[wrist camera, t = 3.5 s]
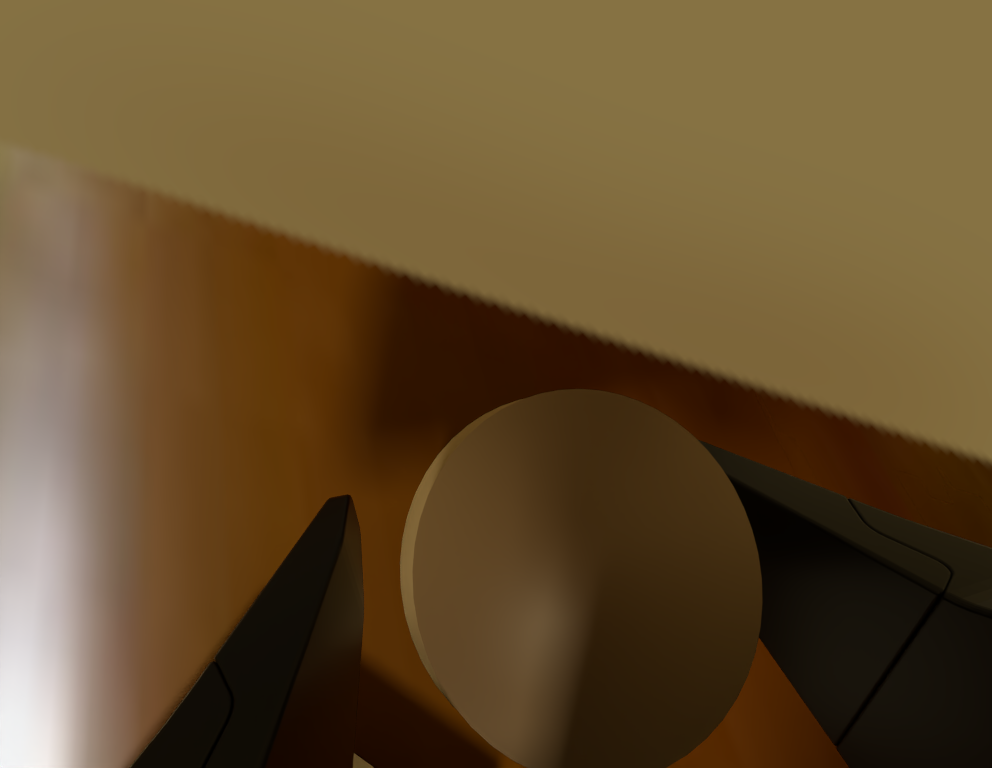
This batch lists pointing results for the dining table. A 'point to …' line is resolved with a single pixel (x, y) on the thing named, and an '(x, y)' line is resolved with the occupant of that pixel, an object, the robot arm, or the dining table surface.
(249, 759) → the robot arm
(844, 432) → the dining table surface
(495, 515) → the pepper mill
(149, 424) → the dining table surface
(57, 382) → the dining table surface
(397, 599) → the dining table surface
